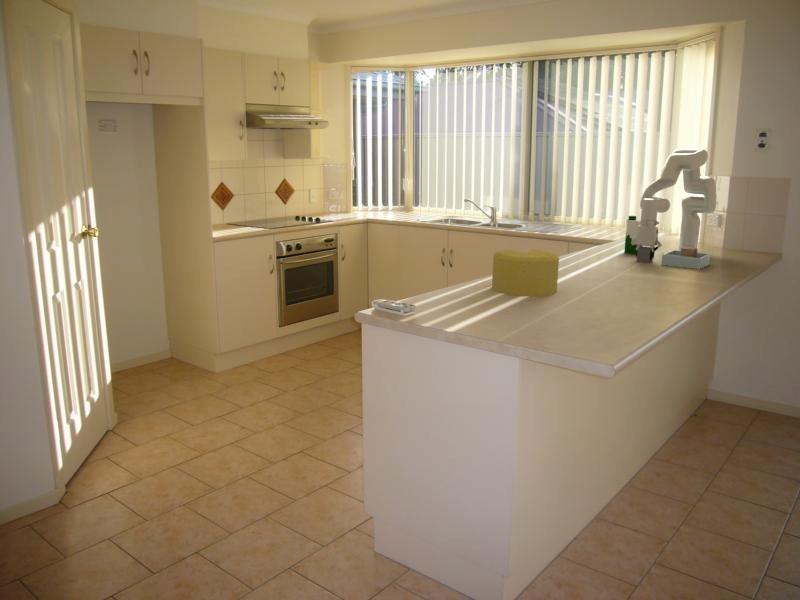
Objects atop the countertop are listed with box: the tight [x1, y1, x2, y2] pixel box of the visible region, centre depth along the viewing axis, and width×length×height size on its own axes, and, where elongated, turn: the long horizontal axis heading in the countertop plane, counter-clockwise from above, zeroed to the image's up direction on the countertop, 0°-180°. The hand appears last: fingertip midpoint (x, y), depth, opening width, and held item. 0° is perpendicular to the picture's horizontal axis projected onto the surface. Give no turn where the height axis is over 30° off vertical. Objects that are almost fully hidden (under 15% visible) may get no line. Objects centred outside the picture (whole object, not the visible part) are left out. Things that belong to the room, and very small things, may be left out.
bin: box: [661, 249, 711, 270], centre depth 341 cm, size 18×18×5 cm
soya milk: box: [623, 215, 643, 255], centre depth 374 cm, size 9×9×20 cm
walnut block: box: [681, 247, 699, 258], centre depth 344 cm, size 6×6×7 cm
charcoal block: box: [636, 246, 654, 263], centre depth 349 cm, size 6×6×7 cm
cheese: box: [491, 248, 560, 297], centre depth 277 cm, size 26×26×15 cm
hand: (644, 258), depth 350 cm, fingers closed on charcoal block, 6 cm apart
